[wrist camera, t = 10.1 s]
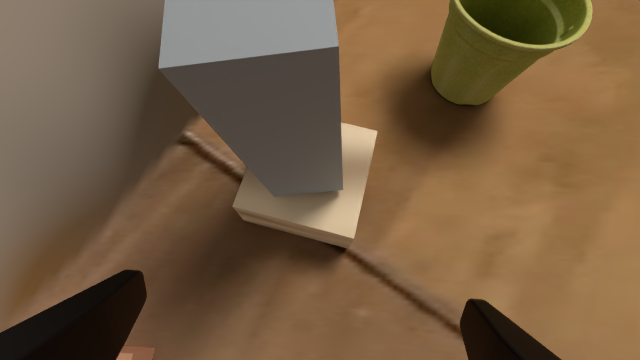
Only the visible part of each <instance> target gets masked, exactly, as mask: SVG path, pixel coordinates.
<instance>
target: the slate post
mask: <svg viewBox="0 0 640 360" xmlns="http://www.w3.org/2000/svg"><path fill="white" fill-rule="evenodd" d="M159 70H160V71H161V72H162V73H163V74H164V75H165V76H166V77H167V78H168V80H169V81H170V82H171V83H172V84H173V85H174V86H175V87H176V88H177V89H178V91H179V92H180V93H181V94H182V95H183V96H184V97H185V98H186V99H187V100H188V101H189V103H190V104H191V105H192V106H193V107H194V108H195V109H196V111H197V112H198V113H199V114H200V115H201V116H202V117H203V118H204V119H205V121H206V122H207V123H208V124H209V125H210V126H211V127H212V128H213V129H214V131H215V132H216V133H217V134H218V135H219V136H220V137H221V138H222V139H223V141H224V142H225V143H226V144H227V145H228V146H229V147H230V148H231V149H232V151H233V152H234V153H235V154H236V155H237V156H238V157H239V158H240V159H241V161H242V162H243V163H244V164H245V165H246V166H247V167H248V168H249V169H250V171H251V172H252V173H253V174H254V175H255V176H256V177H257V178H258V179H259V181H260V182H261V183H262V184H263V185H264V186H265V187H266V188H267V189H268V191H269V192H270V193H271V194H272V195H273V196H274V197H278V196H288V195H298V194H308V193H318V192H328V191H339V190H343V170H342V137H341V105H340V72H339V45H338V36H337V28H336V20H335V11H334V3H333V0H165V6H164V16H163V27H162V38H161V49H160V59H159Z"/></svg>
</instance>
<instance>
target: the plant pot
mask: <svg viewBox="0 0 640 360" xmlns="http://www.w3.org/2000/svg"><path fill="white" fill-rule="evenodd" d="M591 19H592V4H591V1H590V0H450V3H449V14H448V17H447V20H446V23H445V27H444V30H443V33H442V36H441V39H440V42H439V46H438V49H437V52H436V55H435V58H434V61H433V64H432V67H431V77H432V84H433V86H434V88H435V89H436V90H437V92H438V93H439V94H440V95H441V96H443V97H444V98H445V99H447V100H449V101H451V102H453V103H455V104H470V105H480V104H482V103H485V102H486V101H488V100H489V99H490V98H492V97H493V96H494V95H495V94H497V93H498V92H499V91H500V90H501V89H503V88H504V87H505V86H506V85H507V84H508V83H510V82H511V81H512V80H513V79H515V78H516V77H517V76H518V75H520V74H521V73H522V72H523V71H524V70H526V69H527V68H528V67H529V66H531V65H532V64H533V63H534V62H536V61H537V60H538V59H540V58H541V57H544V56H546V55H548V54H550V53H551V52H553V51H554V50H557V49H560V48H563V47H565V46H568V45H570V44H571V43H573V42H574V41H576V40H577V39H578V38H579V37H581V36H582V35H583V34H584V32H585V31H586V30H587V28H588V27H589V24H590V22H591Z"/></svg>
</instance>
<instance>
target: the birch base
mask: <svg viewBox="0 0 640 360" xmlns="http://www.w3.org/2000/svg"><path fill="white" fill-rule="evenodd" d="M376 136H377V131H375V130H370V129H366V128H362V127H358V126H354V125H350V124H345V123H341V137H342V170H343V190H339V191H328V192H318V193H308V194H298V195H288V196H278V197H274V196H273V195H272V194H271V193H270V192H269V191H268V189H267V188H266V187H265V186H264V185H263V184H262V183H261V182H260V181H259V179H258V178H257V177H256V176H255V175H254V174H253V173H252V172H251V171H250V169H249V168H248V167H247V169H246V172H245V175H244V177H243V180H242V182H241V185H240V188H239V190H238V193H237V195H236V198H235V201H234V203H233V206H232V207H233V208H234V209H235V210H236V212H237V213H238V214H239V215H240V217H241V218H242V219H243V220H244V221H247V222H250V223H254V224H258V225H262V226H265V227H269V228H273V229H277V230H280V231H284V232H288V233H292V234H295V235H299V236H303V237H307V238H310V239H314V240H318V241H322V242H325V243H329V244H333V245H337V246H341V247H344V248H348V247H349V245H350V244H351V242H352V241H353V239H354V236H355V232H356V227H357V222H358V218H359V213H360V209H361V204H362V200H363V195H364V191H365V186H366V181H367V177H368V172H369V168H370V163H371V159H372V154H373V150H374V145H375V140H376Z"/></svg>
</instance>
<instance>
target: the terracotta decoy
mask: <svg viewBox="0 0 640 360" xmlns="http://www.w3.org/2000/svg"><path fill="white" fill-rule="evenodd" d="M154 351H155V347H135V346H123V348H122V350H121V352H120V354H119V356H118V357H117V359H116V360H153V355H154Z"/></svg>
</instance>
